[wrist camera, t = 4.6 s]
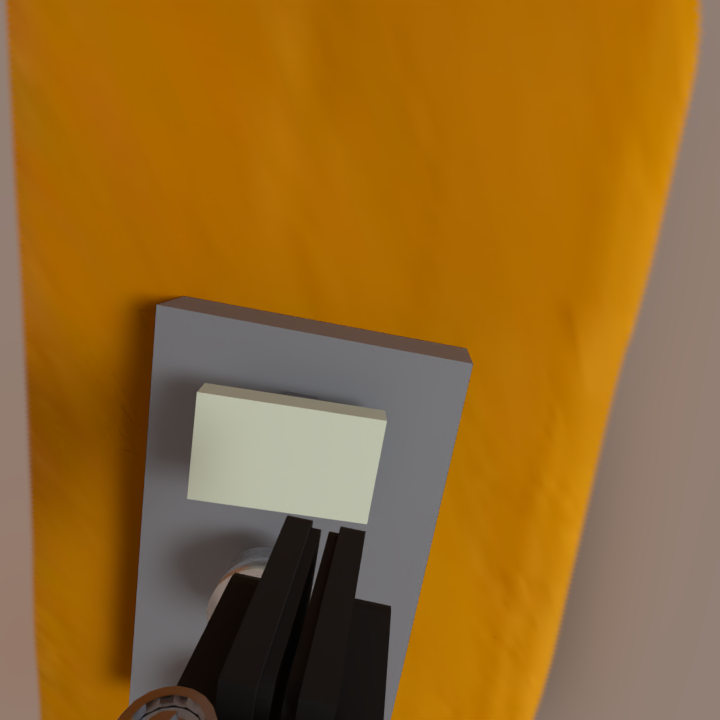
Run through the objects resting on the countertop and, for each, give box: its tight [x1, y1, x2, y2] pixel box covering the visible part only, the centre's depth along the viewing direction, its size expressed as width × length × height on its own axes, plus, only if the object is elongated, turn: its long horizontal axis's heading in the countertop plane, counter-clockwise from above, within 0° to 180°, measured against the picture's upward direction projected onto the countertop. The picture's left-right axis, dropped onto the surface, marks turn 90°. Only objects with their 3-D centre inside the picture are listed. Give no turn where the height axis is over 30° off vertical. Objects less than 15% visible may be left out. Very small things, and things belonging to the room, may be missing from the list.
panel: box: [129, 296, 473, 720], centre depth 23 cm, size 20×12×4 cm, turn 171°
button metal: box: [206, 547, 314, 623], centre depth 20 cm, size 4×4×2 cm
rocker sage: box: [187, 383, 387, 524], centre depth 19 cm, size 4×6×1 cm, turn 81°
